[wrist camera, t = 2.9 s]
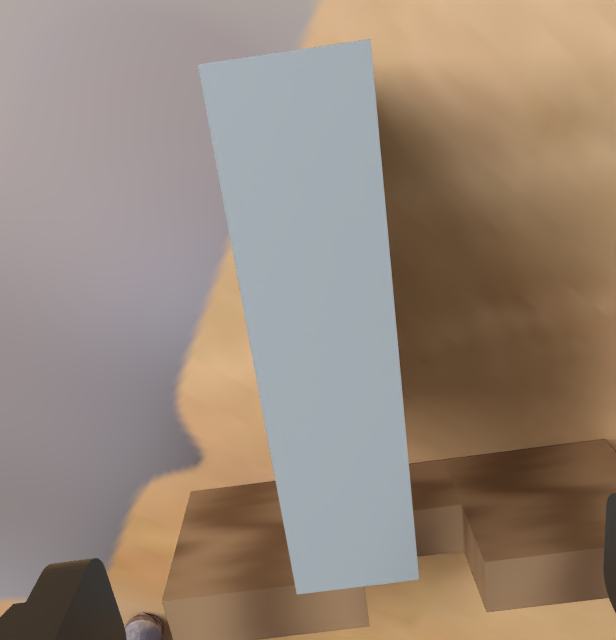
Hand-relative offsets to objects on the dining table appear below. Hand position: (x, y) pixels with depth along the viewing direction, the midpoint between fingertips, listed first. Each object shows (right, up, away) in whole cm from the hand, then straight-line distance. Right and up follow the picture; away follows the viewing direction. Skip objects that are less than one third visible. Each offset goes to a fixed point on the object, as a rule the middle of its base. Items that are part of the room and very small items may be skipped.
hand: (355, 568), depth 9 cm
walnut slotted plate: (+5, -6, +25) cm, 26 cm away
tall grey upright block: (0, +8, +20) cm, 22 cm away
